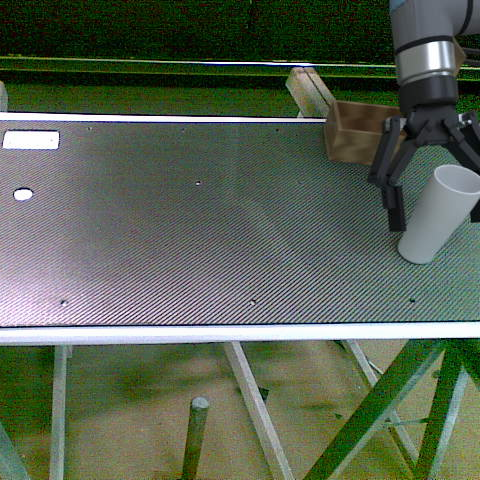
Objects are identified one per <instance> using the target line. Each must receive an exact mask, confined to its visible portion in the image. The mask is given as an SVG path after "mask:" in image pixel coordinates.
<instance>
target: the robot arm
mask: <svg viewBox="0 0 480 480" xmlns="http://www.w3.org/2000/svg"><path fill="white" fill-rule="evenodd" d="M388 1H389V18H390V24H391V33H392V34H391V35H392V43H393V50H394V66H395V77H396V84H397V85H398V86H400V87H399V89H398V90H397V99H398V107H399V110H400V112H401V113H403V116H402V118H400V117H399V116H398V115H394V116H392V117H389V118H387V119H384V120H383V121H382V136H381V139H380V142H379V145H378V148H377V150H376V153H375V156H374V159H373V162H372V165H370V168H369V171H368V174H367V175H366V176H367V177H366V183H367V184H369V185H375V187H376V188H378V189H380V193H381V194H380V195H381V204H382V209H383V210H387V211H386V212H387V221H388V232H389V233H401V232H402V233H404V231H406V227H407V224H406V223H407V222H406V221H407V220H406V212H405V201H404V190H403V185H402V184H400V185H399V184H398V185H396V184H397V182H398V181H399V180H400V179H401V177H402V174H403V173H404V171H405V170H406V169H407V167H408V166H409V164H410V162H411V161H412V159H413V157H414V156H415V154H416V152H417V151H418V149H420V148H423V147H427V146H429V147H437V146H440V147H441V148H443V149H446V150H447V151H448V152H449V154H450V155H451V156H452V157H453V158H454V159H455V160H456V161H457V162H458V164H460V166H461V167H464V168H467V169H469V170H471V171H473V172H475V173H476V174H477V175H479V176H480V121H479V115H478V112H477V110H475V109H471V110H469V111H465V112H462V113H458V112H457V109H456V105H457V104H458V102H459V98H460V97H459V86H458V78H457V77H454V76H452V75H453V74H454V73H455V72H456V64H455V54H454V45H453V44H454V42H453V37H454V38H456V37H457V38H458V37H462V36H471V35H479V34H480V0H388ZM402 129H403V130H404V132H405V133H406V136H405V137H404V139H403V141H402V142H401V144H400V148H399V150H398V151H397V153H396V155H395V156H394V158H393V159H392V156H393V153H394V150H395V147H396V144H397V141H398V138H399V135H400V131H401V130H402ZM391 159H392V161H391ZM390 161H391V162H390ZM469 218H470V219H469V220H470V223H471V224H479V223H480V198H479V200H478V202H477V203H476V205H475V206H474V208H473V209H472V210H471V212H470V213H469Z"/></svg>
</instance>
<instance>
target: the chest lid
mask: <svg viewBox="0 0 480 480" xmlns="http://www.w3.org/2000/svg"><path fill="white" fill-rule="evenodd" d="M453 42H454V44H453V45H454V54H455V64H456V72H455V73H454V74H453V75H452V76H454V77H455V78H457V75H458V73H459V72H460V70H461V68H462V66H463V65H464V66H470V67H471V66H472V67H480V60H475V59H467V57H468V56H467V54H468V55H476V56H480V49H477V48H470V47H464V46H463V47H461V46H460V44H459V42H457V40H456V37H453Z"/></svg>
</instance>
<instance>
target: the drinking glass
mask: <svg viewBox="0 0 480 480" xmlns="http://www.w3.org/2000/svg"><path fill="white" fill-rule="evenodd" d="M479 198H480V176H479V175H477V174H476V173H475V172H473V171H471V170H469V169H467V168H464V167H462V166H461V165H456V164H441V165H438V166H437V167H435V168H434V169H433V171H432V173H431V174H430V176H429V177H428V179H427V181H426V183H425V185H424V186H423V189H422V190H421V192H420V194H419V197H418V199H417V201H416V203H415V206H414V208H413V211H412V213H411V216H410V218H409V220H408V222H407V224H406V231H403V233H402V236H401V238H400V239H399V242H398V243H397V251H398V253H399V255H400V256H401V257H402V258H403V259H405V260H406V261H408V262H410V263H412V264H416V265H425V264H428V263H430V262H431V261H432V260H433V259H434V258H435V256H436V255H437V253H438V252H439V251H440V249H441V248H442V247H443V246H444V245H445V243H447V241H448V240H449V239H450V237H452V235H453V234H454V232H456V230H457V229H459V227H460V226H461V224H463V222H464V221H465V219H466V218H467V217H468V216H469V215H470V212H471V210H472V209H473V208H474V206H475V205H476V203H477V202H478V200H479Z"/></svg>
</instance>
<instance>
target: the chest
mask: <svg viewBox="0 0 480 480" xmlns="http://www.w3.org/2000/svg"><path fill="white" fill-rule="evenodd" d="M394 115H398V116H399V117H400V118H402V116H403V113H401V112H400V110H399V106H394V105H393V106H392V105H383V104H375V103H367V102H358V101H348V100H341V99H340V100H339V99H332V100H331V103H330V106H329V110H328V111H327V115H326V119H325V121H324V124H323V128H322V130H323V136H324V137H323V138H324V142H325V149H326V156H327V161H330V162H331V161H332V162H340V163H347V164H358V165H365V166H371V165H372V162H373V159H374V156H375V153H376V150H377V148H378V145H379V142H380V139H381V136H382V121H383V120H384V119H387V118H389V117H392V116H394ZM405 136H406V133H405V132H404V130H403V129H402V130H401V131H400V135H399V138H398V141H397V144H396V147H395V150H394V153H393V156H392V159H393V158H394V156H395V155H396V153H397V151H398V150H399V148H400V144H401V142H402V141H403V139H404V137H405ZM392 159H391V161H392ZM391 161H390V162H391Z"/></svg>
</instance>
